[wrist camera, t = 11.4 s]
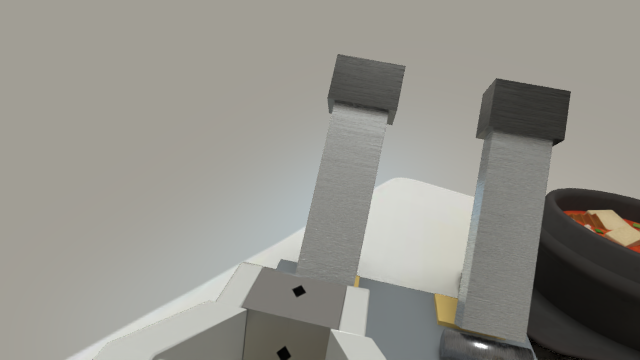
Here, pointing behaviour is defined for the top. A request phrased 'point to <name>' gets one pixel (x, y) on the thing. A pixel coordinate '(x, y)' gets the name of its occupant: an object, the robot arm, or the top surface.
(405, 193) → the top surface
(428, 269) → the top surface
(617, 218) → the casserole
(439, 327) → the switch unit
